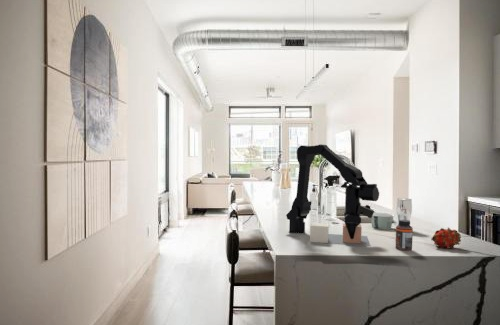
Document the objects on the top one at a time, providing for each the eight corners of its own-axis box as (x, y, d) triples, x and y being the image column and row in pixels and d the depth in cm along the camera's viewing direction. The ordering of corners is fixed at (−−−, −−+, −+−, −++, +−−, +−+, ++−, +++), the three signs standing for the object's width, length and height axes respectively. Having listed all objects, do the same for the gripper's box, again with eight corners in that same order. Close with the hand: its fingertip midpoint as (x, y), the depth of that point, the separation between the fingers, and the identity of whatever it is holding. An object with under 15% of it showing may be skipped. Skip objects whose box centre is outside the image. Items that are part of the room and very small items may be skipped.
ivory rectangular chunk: (309, 241, 167) (310, 225, 167) (311, 238, 174) (311, 222, 174) (328, 242, 165) (328, 226, 165) (328, 239, 172) (328, 223, 172)
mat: (308, 243, 165) (308, 242, 165) (311, 233, 186) (311, 232, 186) (370, 247, 160) (370, 246, 160) (367, 237, 181) (367, 236, 181)
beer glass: (412, 231, 197) (413, 200, 197) (397, 230, 199) (398, 199, 198) (409, 228, 204) (410, 198, 204) (395, 228, 206) (395, 198, 205)
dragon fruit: (463, 252, 162) (433, 256, 161) (453, 236, 169) (424, 240, 168) (468, 237, 157) (437, 241, 156) (457, 221, 163) (428, 225, 163)
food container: (389, 230, 199) (389, 216, 199) (365, 227, 206) (365, 214, 206) (397, 227, 209) (397, 214, 208) (374, 224, 216) (374, 212, 216)
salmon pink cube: (342, 242, 167) (343, 226, 167) (342, 238, 174) (342, 223, 174) (361, 243, 165) (361, 227, 165) (360, 239, 172) (360, 224, 172)
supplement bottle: (392, 248, 160) (393, 219, 159) (407, 248, 160) (408, 219, 160) (399, 251, 154) (400, 221, 153) (415, 251, 154) (415, 221, 154)
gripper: (374, 202, 159) (373, 242, 159) (371, 197, 177) (370, 234, 177) (345, 201, 161) (344, 241, 161) (344, 196, 179) (343, 232, 179)
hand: (351, 237), depth 170 cm, fingers closed on salmon pink cube, 7 cm apart
